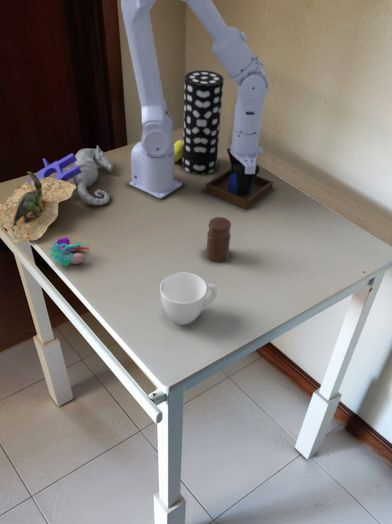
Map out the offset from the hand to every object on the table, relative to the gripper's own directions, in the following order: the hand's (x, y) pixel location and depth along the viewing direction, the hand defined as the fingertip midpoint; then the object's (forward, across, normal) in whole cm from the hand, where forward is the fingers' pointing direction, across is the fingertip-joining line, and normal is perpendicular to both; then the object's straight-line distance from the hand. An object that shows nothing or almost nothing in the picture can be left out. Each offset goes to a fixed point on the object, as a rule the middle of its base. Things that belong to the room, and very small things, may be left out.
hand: (239, 187), depth 114 cm
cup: (+1, -40, +17) cm, 43 cm away
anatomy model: (-1, -22, +34) cm, 40 cm away
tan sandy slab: (-7, -8, +48) cm, 49 cm away
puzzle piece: (-2, +2, +41) cm, 41 cm away
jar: (+1, -23, +9) cm, 25 cm away
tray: (+1, 0, 0) cm, 1 cm away
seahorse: (0, -5, +31) cm, 32 cm away
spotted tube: (+1, +12, +8) cm, 14 cm away
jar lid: (-2, 0, 0) cm, 2 cm away
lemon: (-3, +16, +14) cm, 22 cm away
